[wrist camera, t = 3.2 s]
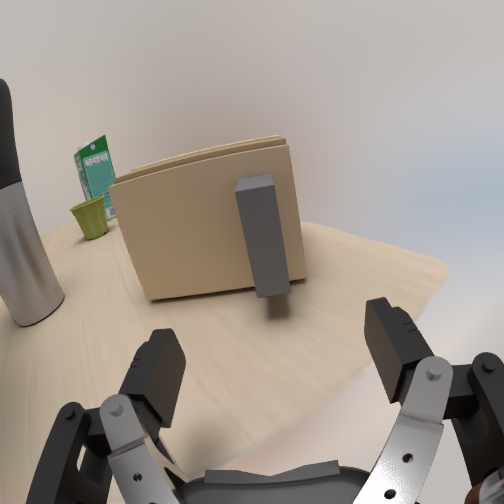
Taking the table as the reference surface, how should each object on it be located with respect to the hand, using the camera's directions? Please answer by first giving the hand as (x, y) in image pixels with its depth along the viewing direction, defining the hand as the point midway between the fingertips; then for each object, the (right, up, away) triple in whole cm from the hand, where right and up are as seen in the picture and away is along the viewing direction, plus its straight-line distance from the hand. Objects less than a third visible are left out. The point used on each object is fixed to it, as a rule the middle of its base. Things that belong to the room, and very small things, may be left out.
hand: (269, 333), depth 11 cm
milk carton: (-45, +14, +66) cm, 81 cm away
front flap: (-4, -1, +13) cm, 14 cm away
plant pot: (-38, +7, +49) cm, 63 cm away
